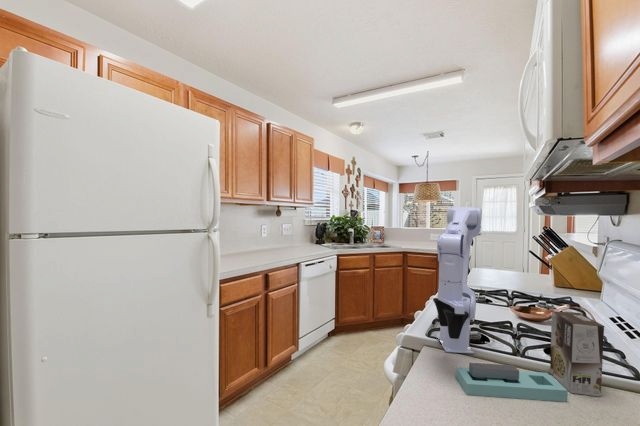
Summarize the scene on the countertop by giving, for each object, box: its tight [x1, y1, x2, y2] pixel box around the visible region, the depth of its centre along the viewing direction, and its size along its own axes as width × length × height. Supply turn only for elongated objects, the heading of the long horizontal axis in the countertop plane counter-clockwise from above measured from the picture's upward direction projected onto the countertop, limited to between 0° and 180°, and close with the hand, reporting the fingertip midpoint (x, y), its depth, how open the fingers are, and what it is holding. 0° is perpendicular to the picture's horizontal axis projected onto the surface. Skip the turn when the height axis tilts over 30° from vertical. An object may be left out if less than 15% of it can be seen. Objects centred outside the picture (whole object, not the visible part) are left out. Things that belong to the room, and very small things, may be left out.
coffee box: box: [549, 310, 605, 397], centre depth 73 cm, size 9×6×16 cm
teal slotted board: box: [455, 366, 569, 403], centre depth 71 cm, size 21×7×2 cm, turn 85°
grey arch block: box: [468, 362, 520, 383], centre depth 71 cm, size 2×10×5 cm, turn 85°
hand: (448, 331), depth 79 cm, fingers open, 7 cm apart
